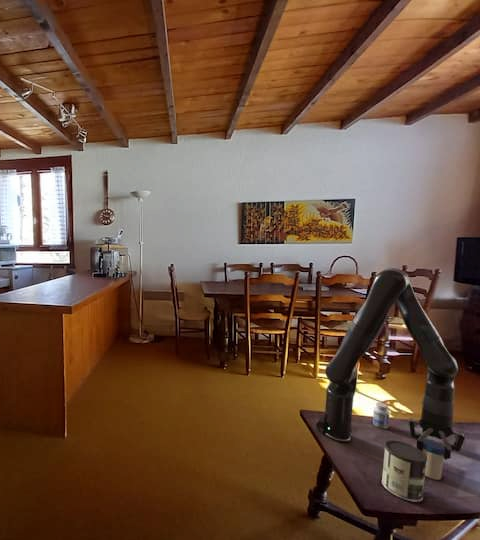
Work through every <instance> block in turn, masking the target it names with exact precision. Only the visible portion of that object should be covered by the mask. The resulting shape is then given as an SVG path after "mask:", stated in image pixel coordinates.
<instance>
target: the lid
mask: <svg viewBox="0 0 480 540" xmlns="http://www.w3.org/2000/svg"><path fill="white" fill-rule="evenodd" d="M422 442H423V445H422V447H423V448H424V449H426V450H427V451H429V452H432V453H435V454H438V455H444V454H445V447H446V446H445V445H443V444H442V443H440V442H438V441H436V440H433V439H428V438H425V439H424V440H423V441H422Z"/></svg>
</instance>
